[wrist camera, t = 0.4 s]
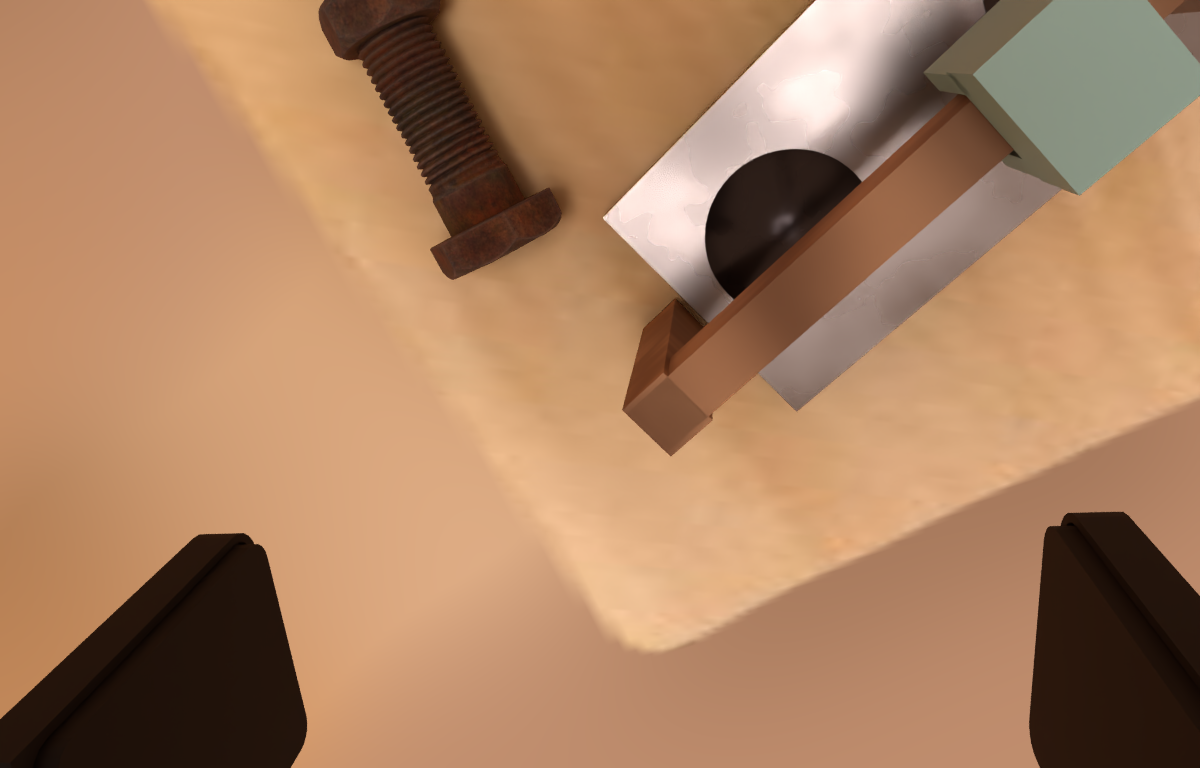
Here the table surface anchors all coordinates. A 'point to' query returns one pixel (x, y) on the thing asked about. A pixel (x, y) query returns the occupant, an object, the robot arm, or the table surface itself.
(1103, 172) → the slider block
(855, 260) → the beam
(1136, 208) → the table surface
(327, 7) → the bolt
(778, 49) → the hole plate
